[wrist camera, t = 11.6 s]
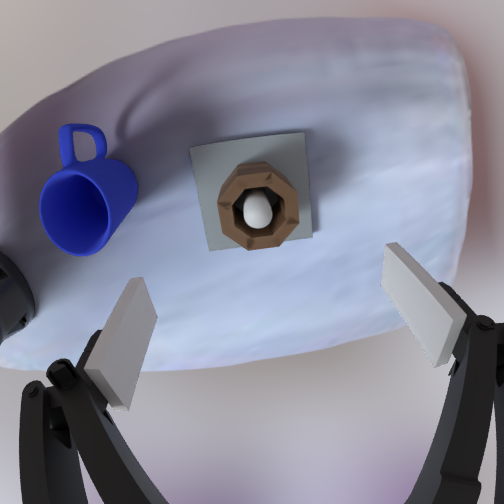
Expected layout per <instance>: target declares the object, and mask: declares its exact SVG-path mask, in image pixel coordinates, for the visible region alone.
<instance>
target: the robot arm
mask: <svg viewBox="0 0 504 504" xmlns="http://www.w3.org/2000/svg"><path fill="white" fill-rule="evenodd" d="M381 287H382V289H383V290H384V292H385V293H386V294H387V296H388V297H389V299H390V300H391V302H392V303H393V304H394V306H395V307H396V309H397V310H398V312H399V313H400V315H401V316H402V318H403V319H404V321H405V322H406V324H407V325H408V327H409V328H410V330H411V331H412V333H413V334H414V336H415V337H416V339H417V340H418V342H419V344H420V345H421V347H422V348H423V350H424V352H425V353H426V355H427V356H428V358H429V360H430V361H431V363H432V365H433V366H434V368H435V367H438V366H441V365H443V364H446V363H448V361H449V359H450V357H451V354H453V355H454V357H455V358H456V360H455V362H454V364H453V366H452V368H451V370H450V372H449V374H448V375H449V376H450V375H451V378H450V383H449V387H448V391H447V395H446V399H445V403H444V407H443V410H442V414H441V417H440V421H439V424H438V427H437V430H436V433H435V436H434V439H433V442H432V445H431V447H430V451H429V453H428V456H427V458H426V460H425V463H424V465H423V468H422V470H421V473H420V475H419V477H418V480H417V482H416V484H415V486H414V488H413V491H412V493H411V495H410V496H409V498H408V499H407V500H406V502H405V503H404V504H477V501H478V498H479V495H480V492H481V483H480V482H479V481H478V474H479V471H480V467H481V463H482V460H483V456H484V451H485V447H486V443H487V438H488V432H489V427H490V421H491V414H492V408H493V400H494V409H495V421H496V438H497V439H496V440H497V467H496V468H497V469H496V486H495V498H494V504H504V323H495V322H494V321H493V320H492V319H491V318H489V317H487V316H484V315H476V314H475V313H474V311H472V309H471V308H470V307H469V306H468V305H467V304H466V303H465V302H464V301H463V300H462V299H461V297H460V296H459V295H458V294H456V292H455V291H454V290H453V289H452V288H451V287H450V286H448V285H447V284H445V283H443V282H439V283H437V282H436V280H435V279H434V278H433V277H432V276H431V275H430V274H429V273H428V272H427V271H426V270H425V269H424V268H423V267H422V266H421V265H420V264H419V263H418V262H417V261H416V260H415V259H414V258H413V257H412V256H411V255H410V254H409V253H408V252H407V251H406V250H405V249H403V248H402V247H401V246H400V245H399V244H398V243H397V242H395V243H389V244H385V251H384V263H383V272H382V281H381ZM34 311H35V306H34V300H33V296H32V293H31V291H30V288H29V286H28V284H27V282H26V280H25V279H24V277H23V275H22V274H21V272H20V271H19V270H18V268H17V267H16V266H15V265H14V264H13V263H12V262H11V261H10V260H9V259H8V258H7V257H6V256H4V255H3V254H1V253H0V345H1V343H2V342H3V341H4V340H5V339H7V338H9V337H10V336H12V335H14V334H15V333H17V332H19V331H21V330H22V329H24V328H25V327H26V326H27V325H28V324H29V322H30V321H31V320H32V318H33V316H34ZM157 318H158V317H157V314H156V312H155V309H154V306H153V304H152V301H151V298H150V296H149V293H148V290H147V287H146V285H145V282H144V279H143V277H139V278H131V279H130V280H129V282H128V284H127V286H126V287H125V289H124V291H123V293H122V294H121V296H120V298H119V300H118V302H117V304H116V305H115V307H114V309H113V311H112V313H111V315H110V317H109V318H108V320H107V322H106V324H105V326H104V328H103V330H97V331H96V332H95V333H94V334H93V335H92V336H91V338H90V340H89V341H88V343H87V346H86V347H85V349H84V352H83V353H82V355H81V357H80V359H79V361H78V363H77V365H76V367H74V366H73V364H72V363H71V362H70V360H68V359H66V358H65V359H59V360H56V361H55V362H53V363H52V364H51V365H50V366H49V367H48V370H47V372H46V377H47V378H48V379H49V380H50V382H51V383H52V384H53V386H51V387H47V388H46V387H45V386H44V385H43V384H42V383H41V381H37V380H36V381H32V382H30V383H29V384H27V385H26V386H25V388H24V390H23V392H22V400H21V412H20V430H19V463H20V464H19V465H20V482H21V493H22V502H23V504H88V500H87V496H86V492H85V488H84V484H83V479H82V474H81V469H80V463H79V457H78V451H79V454H80V456H81V458H82V461H83V463H84V465H85V467H86V469H87V471H88V473H89V475H90V478H91V480H92V482H93V483H94V485H95V487H96V489H97V491H98V493H99V495H100V497H101V498H102V500H103V502H104V504H169V503H168V502H167V501H166V499H165V498H164V497H163V496H162V494H161V493H160V492H159V490H158V489H157V488H156V486H155V485H154V484H153V483H152V481H151V480H150V478H149V477H148V475H147V474H146V473H145V471H144V470H143V468H142V467H141V465H140V464H139V462H138V461H137V459H136V458H135V456H134V455H133V454H132V452H131V450H130V448H129V447H128V445H127V444H126V442H125V440H124V439H123V437H122V435H121V433H120V432H119V430H118V428H117V427H116V425H115V423H114V421H113V419H112V418H111V416H110V414H109V412H108V411H107V410H106V407H107V404H108V403H109V404H110V405H111V407H112V408H113V409H114V410H121V411H129V409H130V405H131V401H132V397H133V394H134V391H135V387H136V384H137V381H138V377H139V374H140V370H141V367H142V364H143V361H144V357H145V354H146V351H147V348H148V345H149V342H150V339H151V336H152V332H153V329H154V326H155V323H156V321H157ZM77 449H78V451H77Z"/></svg>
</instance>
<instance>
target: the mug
mask: <svg viewBox="0 0 504 504" xmlns="http://www.w3.org/2000/svg"><path fill="white" fill-rule="evenodd" d="M74 131H79V132H86V133H89V134H90V135H92V136H93V138H94V140H95V143H96V149H97V155H96V158H95V159H92V160H89V161H85V162H79V161H78V160H77V159H76V157H75V152H74V144H73V132H74ZM59 146H60V154H61V159H62V163H63V169H62V170H60V171H58V172H56V173H55V174H53V175H52V176H51V177H50V178H49V179H48V181H47V182H46V183H45V185H44V187H43V189H42V192H41V196H40V202H39V211H40V218H41V222H42V224H43V227H44V229H45V231H46V233H47V235H48V236H49V238H50V239H51V240H52V242H53V243H54V244H55V245H56V246H57V247H59V248H60V249H61V250H63V251H65V252H66V253H69V254H71V255H75V256H88V255H92V254H94V253H96V252H98V251H99V250H101V249H102V248H103V247H104V246H105V244H106V243H107V242H108V240H109V239H110V237H111V236H112V234H113V233H114V232H115V230H116V229H117V228H118V226H119V225H120V223H121V222H122V221H123V219H124V218H125V217H126V215H127V214H128V213H129V211H130V210H131V209H132V207H133V205H134V203H135V201H136V198H137V193H138V185H137V180H136V177H135V175H134V173H133V172H132V170H131V169H130V168H129V167H128V166H127V165H126V164H124V163H123V162H121V161H118V160H113V159H105V156H106V154H107V143H106V138H105V135H104V133H103V132H102V130H101V129H99V128H98V127H96V126H93V125H88V124H66V125H64V126H62V127H61V128H60V129H59Z"/></svg>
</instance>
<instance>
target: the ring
mask: <svg viewBox="0 0 504 504" xmlns="http://www.w3.org/2000/svg"><path fill="white" fill-rule="evenodd" d="M264 186H268V187H269V188H270V189H272V190H273V191H274V192H275V193H277V197H278V201H277V202H276V204H275V205H274V206H273V207H272V208H271V210H272V219H271V221H270V223H269V224H268V225H267V226H265V227H263V228H253V227H251V226H249V225H248V224H247V223H246V221H245V219H244V212H243V211H242V210H240V209H239V208H237V207H236V205H235V201H236V200H237V198H238V197H239V196H240V194H241V193H242V192H243V191H244V189H249V188H256V187H264ZM217 206H218V212H219V218H220V223H221V229H222V233H223V234H224V235H226V236H227V237H229V238H230V239H232V240H233V241H235V242H236V243H238V244H239V245H240V246H242V247H243V248H245V249H246V250H248V251H249V250H256V249H264V248H271V247H279V246H280V245H281V244H282V243H283V242H284V240H285V239H286V238H287V237H288V236H289V235H290V234H291V232H292V231H293V230H294V229H295V228H296V227H297V225H298V224H299V223H300V222H299V208H298V195H297V191H296V190H295V188H294V187H293V186H292V184H291V183H290V182H289V180H288V179H287V178H286V177H285V176H284V175H282V174H281V173H280V172H279V171H277V170H276V169H275V168H273V167H272V166H271V165H270V164H268V163H267V162H266V161H264V162H256V163H248V164H241V165H237V166H236V168H235V169H234V170H233V172H232V173H231V174H230V175H229V177H228V178H227V179H226V181H225V182H224V183H223V185H222V186H221V189H220V193H219V196H218V200H217Z"/></svg>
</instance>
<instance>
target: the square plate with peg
mask: <svg viewBox="0 0 504 504" xmlns="http://www.w3.org/2000/svg"><path fill="white" fill-rule="evenodd" d="M189 150H190V155H191V161H192V166H193V172H194V177H195V183H196V188H197V193H198V198H199V204H200V209H201V214H202V219H203V223H204V228H205V233H206V238H207V243H208V247H209V251H215V250H223V249H230V248H237V247H242V246H240V245H239V244H238V243H236V242H235V241H233V240H232V239H230V238H229V237H227V236H226V235H224V234H223V233H222V229H221V223H220V218H219V212H218V206H217V200H218V196H219V193H220V189H221V186H222V185H223V183H224V182H225V181H226V179H227V178H228V177H229V175H230V174H231V173H232V172H233V170H234V169H235V168H236V166H237V165H241V164H248V163H256V162H264V161H266V162H267V163H268V164H270V165H271V166H272V167H273V168H275V169H276V170H277V171H279V172H280V173H281V174H282V175H284V176H285V177H286V178H287V179H288V180H289V182H290V183H291V184H292V186H293V187H294V188H295V190H296V191H297V195H298V208H299V222H300V223H299V224H298V225H297V227H296V228H295V229H294V230H293V231H292V232H291V234H290V235H289V236H288V237H287V238H286V239H285V240H284V241H290V240H297V239H305V238H312V220H311V203H310V188H309V175H308V163H307V152H306V141H305V133H304V132H298V133H286V134H276V135H267V136H258V137H250V138H243V139H236V140H229V141H222V142H216V143H210V144H204V145H199V146H193V147H190V148H189ZM277 201H278V197H277V193H275V192H274V191H273V190H272V189H270V188H269V187H268V186H264V187H256V188H249V189H244V191H243V192H242V193H241V194H240V196H239V197H238V198H237V200H236V201H235V205H236V207H237V208H239V209H240V210H242V211H243V212H244V219H245V221H246V223H247V224H248V225H249V226H251V227H253V228H263V227H265V226H267V225H268V224H269V223H270V221H271V219H272V210H271V208H272V207H273V206H274V205H275V204H276V202H277Z"/></svg>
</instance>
